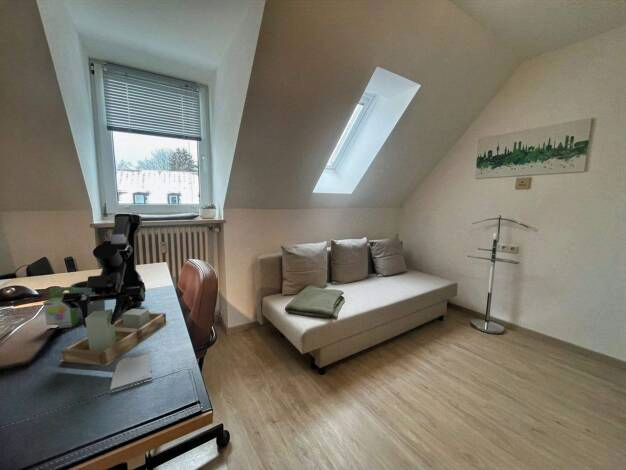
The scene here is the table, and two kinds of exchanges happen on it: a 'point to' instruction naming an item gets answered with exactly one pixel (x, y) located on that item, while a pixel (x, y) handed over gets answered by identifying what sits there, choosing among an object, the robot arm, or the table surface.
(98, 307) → the dark green round bin
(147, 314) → the grey jaw block
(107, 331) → the green block
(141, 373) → the hard drive
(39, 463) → the table surface
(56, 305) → the ink box
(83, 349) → the oak housing tray
